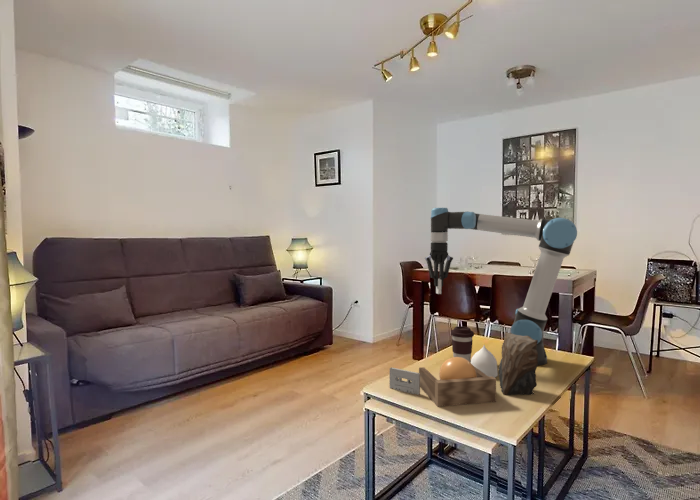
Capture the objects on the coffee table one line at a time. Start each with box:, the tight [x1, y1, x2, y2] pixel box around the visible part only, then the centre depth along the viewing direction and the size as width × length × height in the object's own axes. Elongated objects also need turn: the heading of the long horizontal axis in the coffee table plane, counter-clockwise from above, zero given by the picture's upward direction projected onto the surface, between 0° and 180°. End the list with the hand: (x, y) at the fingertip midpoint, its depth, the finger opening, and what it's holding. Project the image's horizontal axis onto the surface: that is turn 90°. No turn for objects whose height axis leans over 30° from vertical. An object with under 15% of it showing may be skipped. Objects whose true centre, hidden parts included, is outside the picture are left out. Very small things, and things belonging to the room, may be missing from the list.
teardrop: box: [470, 344, 499, 378], centre depth 170 cm, size 11×11×12 cm
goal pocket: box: [418, 366, 497, 408], centre depth 150 cm, size 21×18×8 cm
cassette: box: [389, 367, 421, 395], centre depth 152 cm, size 12×2×8 cm, turn 57°
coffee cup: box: [450, 325, 475, 363], centre depth 185 cm, size 10×10×15 cm
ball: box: [438, 357, 477, 380], centre depth 150 cm, size 13×13×13 cm
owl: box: [497, 331, 539, 396], centre depth 153 cm, size 13×13×20 cm
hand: (438, 293), depth 190 cm, fingers closed
